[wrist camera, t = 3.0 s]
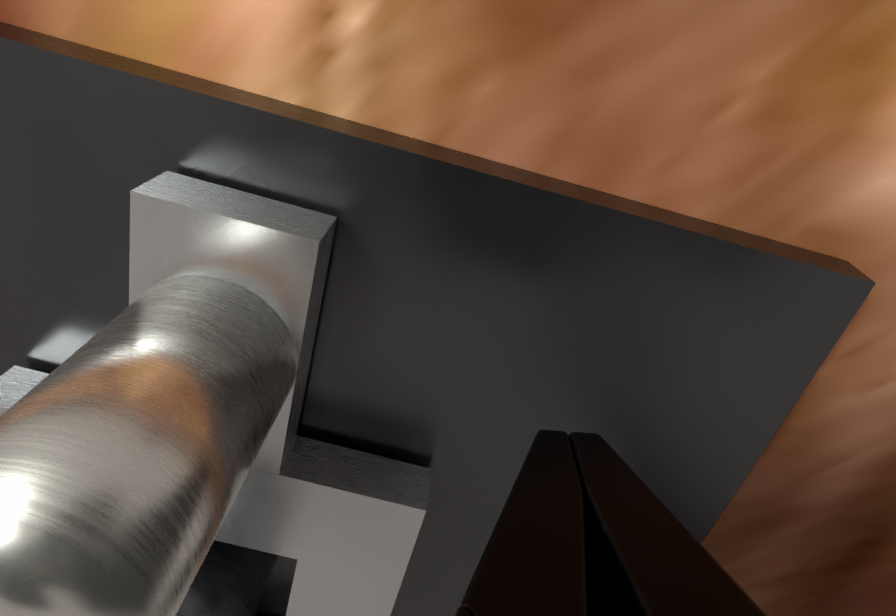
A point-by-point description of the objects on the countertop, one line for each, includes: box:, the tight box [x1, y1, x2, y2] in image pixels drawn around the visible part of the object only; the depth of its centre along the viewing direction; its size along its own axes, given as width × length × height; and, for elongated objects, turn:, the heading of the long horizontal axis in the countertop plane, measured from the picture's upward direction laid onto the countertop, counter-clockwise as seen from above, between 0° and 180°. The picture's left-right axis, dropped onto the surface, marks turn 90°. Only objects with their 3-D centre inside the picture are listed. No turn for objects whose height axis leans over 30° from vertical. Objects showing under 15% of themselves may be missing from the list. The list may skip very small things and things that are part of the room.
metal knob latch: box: [0, 171, 432, 616], centre depth 11 cm, size 14×9×6 cm, turn 165°
